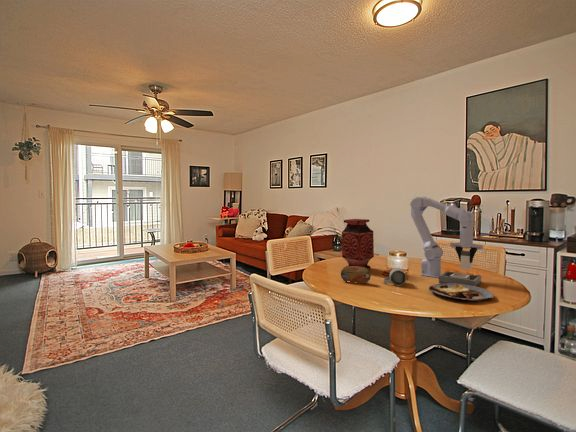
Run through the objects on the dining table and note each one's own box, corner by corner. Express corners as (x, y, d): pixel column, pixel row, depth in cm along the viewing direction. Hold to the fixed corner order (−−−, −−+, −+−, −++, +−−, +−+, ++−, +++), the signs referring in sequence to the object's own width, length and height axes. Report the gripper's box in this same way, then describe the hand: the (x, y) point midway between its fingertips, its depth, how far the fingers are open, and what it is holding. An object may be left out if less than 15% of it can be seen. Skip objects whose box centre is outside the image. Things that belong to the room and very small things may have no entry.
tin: (340, 281, 165) (340, 265, 164) (342, 280, 167) (342, 264, 167) (370, 284, 158) (370, 268, 158) (371, 283, 161) (371, 266, 161)
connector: (460, 268, 161) (460, 251, 161) (462, 267, 164) (462, 250, 164) (469, 270, 159) (469, 252, 158) (471, 268, 162) (471, 251, 161)
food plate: (457, 306, 126) (457, 297, 125) (417, 290, 148) (417, 283, 148) (505, 300, 133) (506, 292, 132) (460, 286, 155) (461, 279, 155)
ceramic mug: (404, 281, 163) (403, 266, 162) (406, 286, 155) (406, 270, 154) (382, 281, 165) (382, 266, 164) (384, 285, 157) (383, 270, 156)
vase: (356, 265, 202) (355, 218, 201) (374, 269, 192) (374, 219, 190) (341, 268, 194) (341, 219, 192) (359, 272, 183) (359, 220, 181)
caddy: (438, 282, 160) (438, 275, 159) (446, 277, 168) (446, 270, 168) (474, 288, 149) (474, 280, 149) (481, 283, 157) (481, 275, 157)
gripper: (484, 235, 158) (484, 262, 159) (453, 233, 168) (452, 259, 169) (481, 237, 153) (480, 265, 154) (449, 235, 163) (448, 261, 164)
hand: (465, 262), depth 161 cm, fingers closed on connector, 4 cm apart
